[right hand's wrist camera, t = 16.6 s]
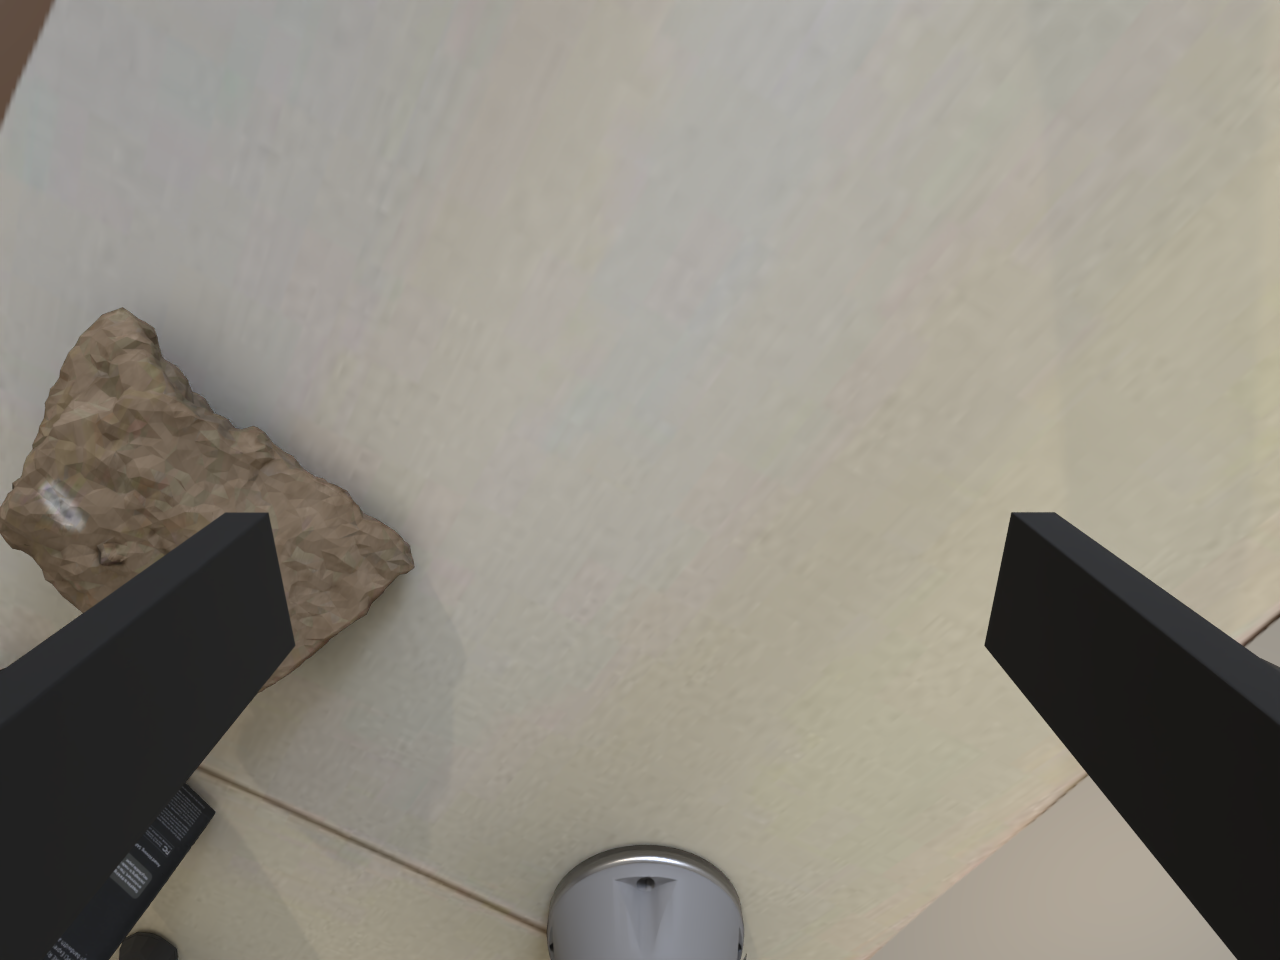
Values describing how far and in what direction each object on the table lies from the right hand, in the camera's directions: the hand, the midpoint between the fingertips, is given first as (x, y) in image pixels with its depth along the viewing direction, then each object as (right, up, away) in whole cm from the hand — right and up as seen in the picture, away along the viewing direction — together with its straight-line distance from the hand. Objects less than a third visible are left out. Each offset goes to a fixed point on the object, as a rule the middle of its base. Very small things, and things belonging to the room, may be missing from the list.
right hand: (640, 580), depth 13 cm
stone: (-25, 0, +31) cm, 40 cm away
